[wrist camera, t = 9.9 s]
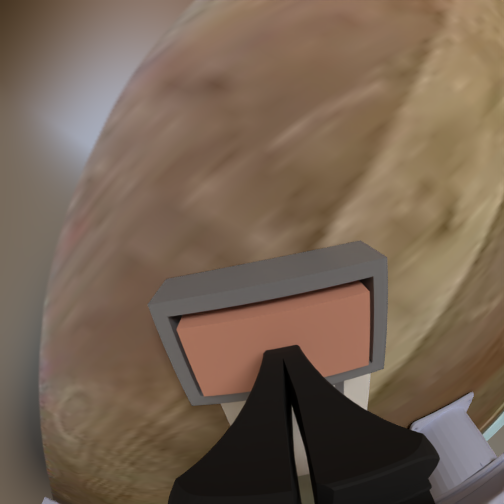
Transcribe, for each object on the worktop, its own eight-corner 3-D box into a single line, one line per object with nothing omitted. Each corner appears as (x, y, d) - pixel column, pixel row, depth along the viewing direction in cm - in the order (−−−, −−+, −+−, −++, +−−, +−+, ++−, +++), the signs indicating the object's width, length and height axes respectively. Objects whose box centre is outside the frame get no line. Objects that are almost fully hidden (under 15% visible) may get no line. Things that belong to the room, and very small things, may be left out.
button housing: (364, 339, 15) (383, 368, 12) (199, 371, 15) (191, 405, 12) (360, 240, 13) (387, 257, 10) (166, 279, 14) (147, 304, 11)
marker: (338, 415, 16) (364, 506, 9) (290, 437, 17) (300, 525, 9) (313, 388, 15) (338, 495, 8) (261, 413, 16) (263, 515, 8)
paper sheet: (363, 421, 17) (365, 424, 17) (241, 446, 18) (241, 449, 17) (369, 360, 15) (371, 363, 15) (217, 391, 16) (216, 395, 15)
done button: (356, 344, 13) (368, 364, 11) (208, 373, 13) (204, 396, 12) (354, 276, 12) (369, 291, 10) (185, 309, 12) (176, 329, 11)
